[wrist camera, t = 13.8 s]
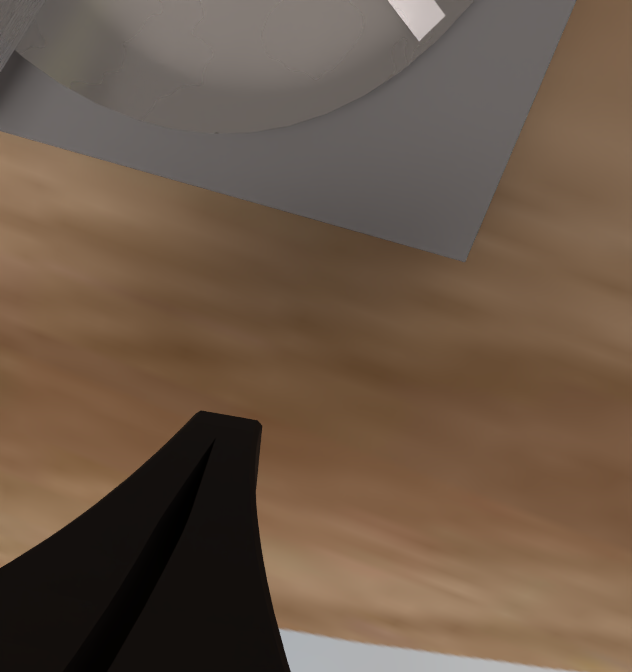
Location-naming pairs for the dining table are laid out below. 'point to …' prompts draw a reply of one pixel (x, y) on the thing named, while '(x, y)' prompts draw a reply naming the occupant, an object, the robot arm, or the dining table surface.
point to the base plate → (344, 134)
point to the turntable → (223, 54)
